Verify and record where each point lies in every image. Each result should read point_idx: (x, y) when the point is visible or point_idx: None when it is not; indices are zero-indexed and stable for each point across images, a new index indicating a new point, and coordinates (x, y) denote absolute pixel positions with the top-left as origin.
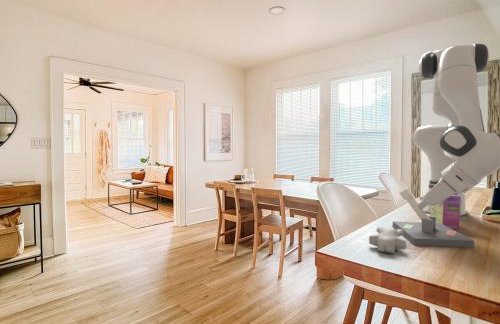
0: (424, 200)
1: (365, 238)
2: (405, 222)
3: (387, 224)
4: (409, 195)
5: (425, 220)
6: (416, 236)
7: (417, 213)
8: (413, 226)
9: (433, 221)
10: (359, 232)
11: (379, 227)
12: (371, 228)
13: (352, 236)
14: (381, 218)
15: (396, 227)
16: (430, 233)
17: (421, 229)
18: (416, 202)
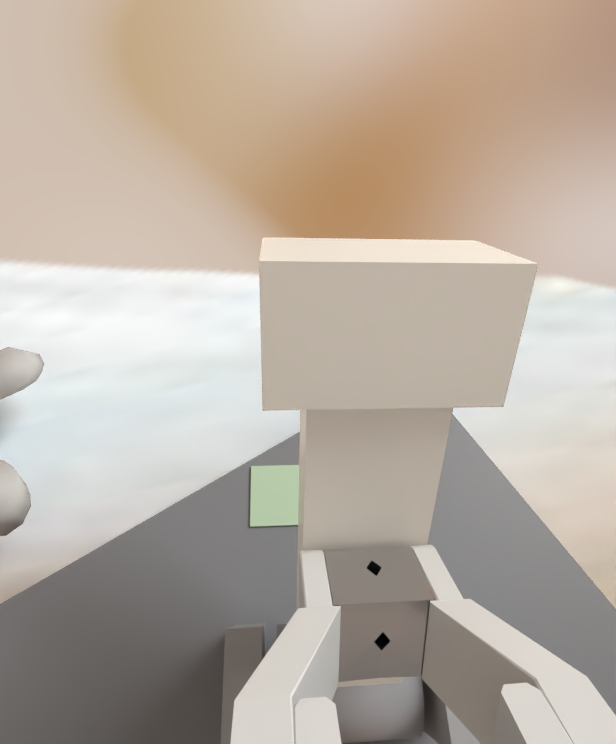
0: (263, 671)
1: (17, 335)
2: (452, 445)
3: None
4: (262, 383)
5: (224, 672)
6: (32, 627)
7: (297, 558)
8: None
9: (371, 735)
10: (133, 280)
11: (5, 357)
12: None
13: (27, 276)
14: (556, 286)
15: None
16: (210, 717)
17: None
18: (374, 507)
